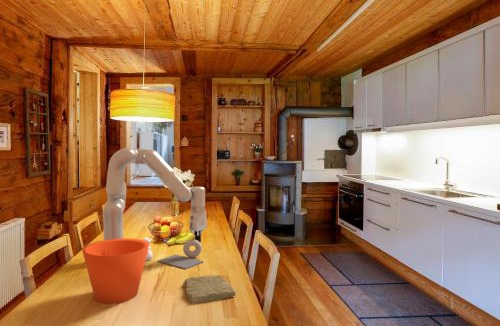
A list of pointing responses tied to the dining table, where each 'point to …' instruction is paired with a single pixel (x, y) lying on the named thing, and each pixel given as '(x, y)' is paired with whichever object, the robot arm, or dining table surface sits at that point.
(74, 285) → the dining table surface
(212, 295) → the stone slab
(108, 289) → the flowerpot
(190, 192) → the robot arm
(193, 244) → the donut
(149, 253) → the white creature statuette
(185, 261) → the rubber mat
